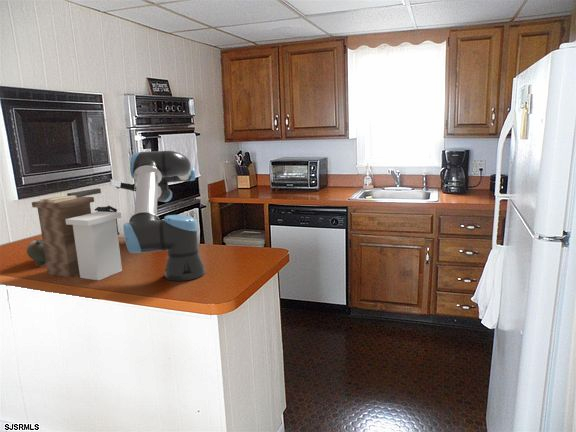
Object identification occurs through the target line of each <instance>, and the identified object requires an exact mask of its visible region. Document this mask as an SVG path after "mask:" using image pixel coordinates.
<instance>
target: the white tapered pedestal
mask: <svg viewBox="0 0 576 432" xmlns="http://www.w3.org/2000/svg"><path fill="white" fill-rule="evenodd" d="M121 218H122V212H118V211H117V212H101V211H99V212H98V211H94V212H91V213H90V214H86V215H81V216H77V217H73V218H69V219H65V220H66V224H68V225H73V231H74V238H75V245H76V252H77V258H78V265H79V272H80V274H79V277H80V279H86V280H92V281H100V280H101V281H102V280H103V279H106V278H108V277H110V276H113V275H115V274H118V273H120V272H123V267H122V266H123V265H122V257H121V249H120V242H119V235H118V233H117V225H118V224H117V225H116V219H117V220H118V219H121Z"/></svg>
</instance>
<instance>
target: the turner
mask: <svg viewBox="0 0 576 432" xmlns="http://www.w3.org/2000/svg"><path fill="white" fill-rule="evenodd" d="M97 194H98V195H100V194H102V190H101V188H97V187H96V188H91V189H86V190H80V191H74V192H73V191H72V192H70V193H69V192H68V193H67V194H65V195H63V194H62V195H57V196H51V197H45V198H41V199H40V200H39V201H41V202H47V203H56V202H62V201H67V200H72V199H77V197H89V196H92V195H97Z"/></svg>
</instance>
